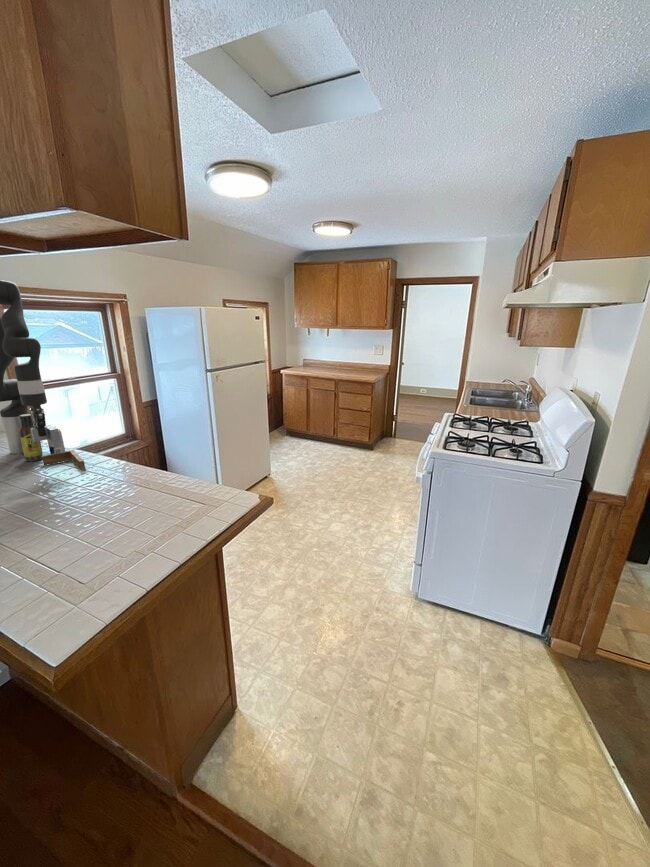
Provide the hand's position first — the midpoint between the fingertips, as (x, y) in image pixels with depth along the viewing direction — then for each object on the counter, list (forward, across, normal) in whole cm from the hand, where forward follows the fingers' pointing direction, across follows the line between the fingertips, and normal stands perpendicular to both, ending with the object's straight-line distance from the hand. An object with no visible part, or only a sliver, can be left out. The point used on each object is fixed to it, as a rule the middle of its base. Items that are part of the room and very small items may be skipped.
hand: (41, 435), depth 135 cm
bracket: (+2, -3, -1) cm, 4 cm away
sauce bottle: (+15, +19, +2) cm, 24 cm away
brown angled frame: (+15, -1, -5) cm, 15 cm away
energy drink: (+15, +16, -6) cm, 23 cm away
